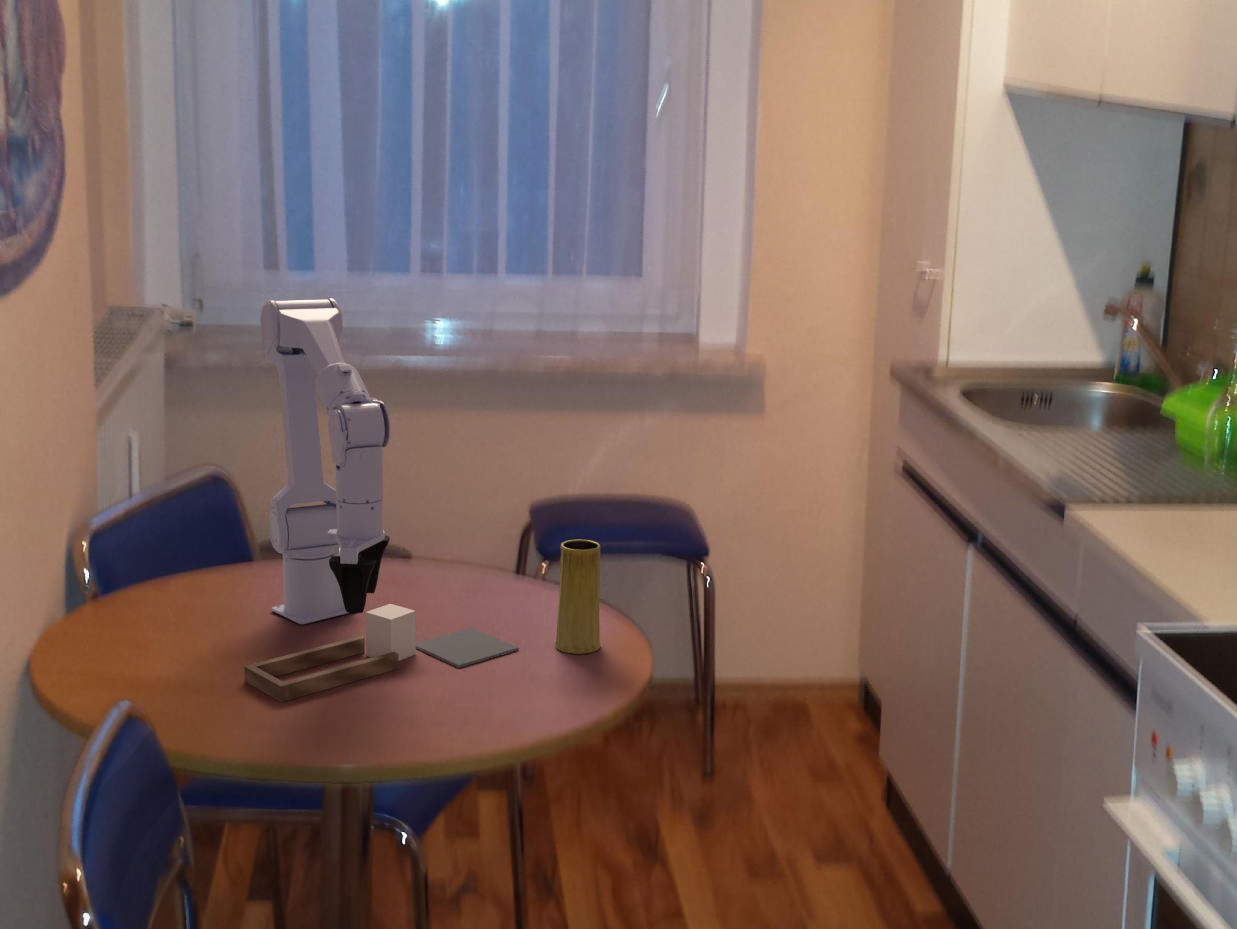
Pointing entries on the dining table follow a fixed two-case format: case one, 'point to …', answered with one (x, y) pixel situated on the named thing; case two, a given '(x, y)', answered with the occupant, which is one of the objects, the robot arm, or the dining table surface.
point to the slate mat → (465, 647)
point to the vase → (579, 597)
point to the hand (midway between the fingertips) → (360, 602)
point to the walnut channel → (282, 691)
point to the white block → (391, 631)
